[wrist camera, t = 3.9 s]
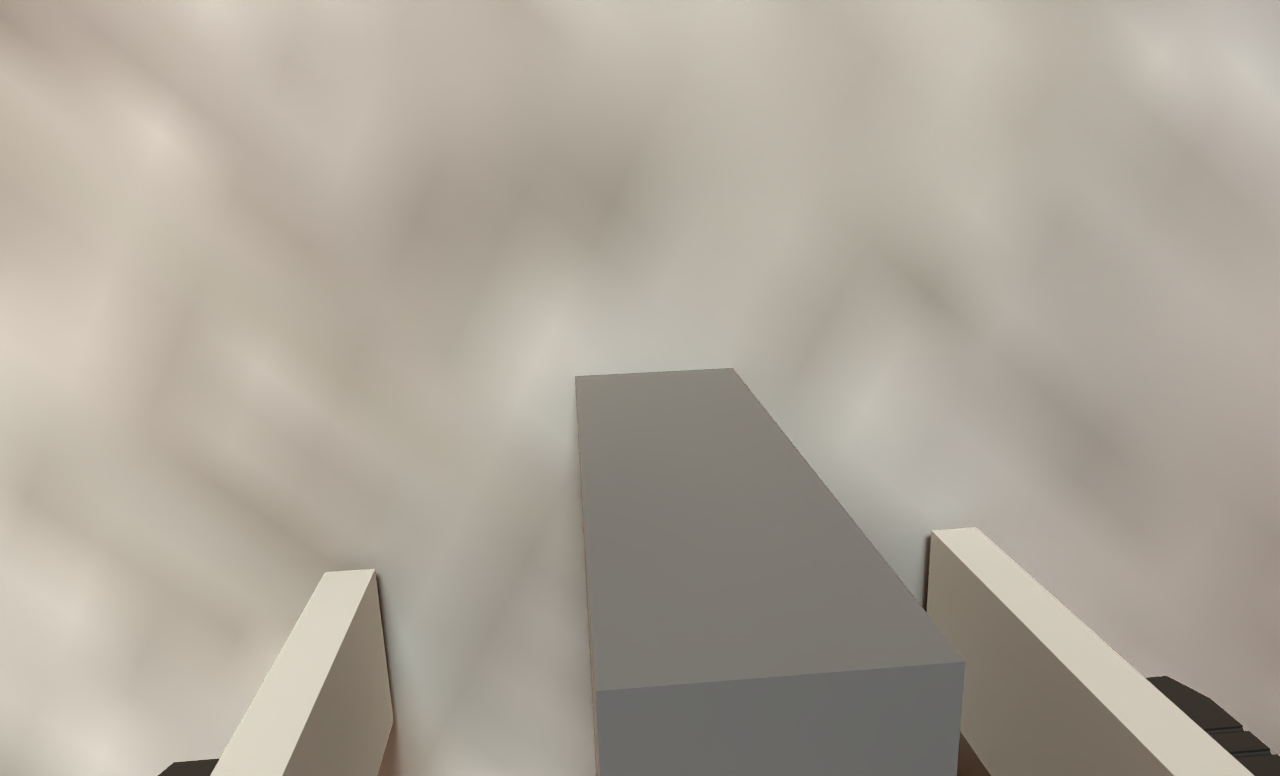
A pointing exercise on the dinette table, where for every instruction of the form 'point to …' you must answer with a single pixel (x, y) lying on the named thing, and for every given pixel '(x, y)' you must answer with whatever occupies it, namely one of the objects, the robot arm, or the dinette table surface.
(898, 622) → the panel
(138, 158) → the dinette table surface
